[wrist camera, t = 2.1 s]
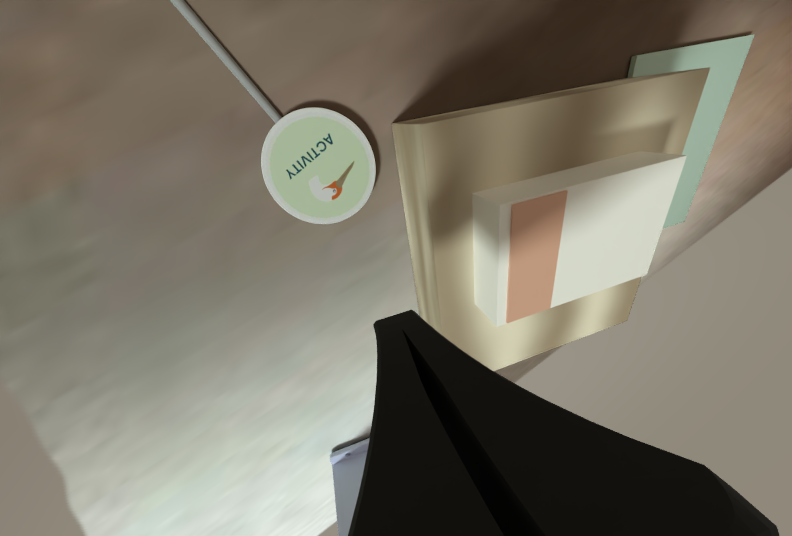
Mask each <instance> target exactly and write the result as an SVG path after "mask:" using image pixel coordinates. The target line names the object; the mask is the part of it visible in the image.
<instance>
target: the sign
mask: <svg viewBox="0 0 792 536" xmlns="http://www.w3.org/2000/svg"><path fill="white" fill-rule="evenodd" d="M170 1H171V2H172V3H173V4H174V5H175V7H176V8H177V9H178V10H179V11H180V12H181V14H182V15H183V16H184V17H185V18H186V19H187V21H188V22H189V23H190V24H191V25H192V26H193V28H194V29H195V30H196V31H197V32H198V33H199V35H200V36H201V37H202V38H203V39H204V40H205V42H206V43H207V44H208V45H209V46H210V47H211V49H212V50H213V51H214V52H215V53H216V54H217V56H218V57H219V58H220V59H221V60H222V61H223V63H224V64H225V65H226V66H227V67H228V68H229V70H230V71H231V72H232V73H233V74H234V75H235V77H236V78H237V79H238V80H239V81H240V82H241V84H242V85H243V86H244V87H245V88H246V89H247V91H248V92H249V93H250V94H251V95H252V96H253V98H254V99H255V100H256V101H257V102H258V103H259V105H260V106H261V107H262V108H263V109H264V110H265V111H266V113H267V114H268V115H269V116H270V117H271V118H272V120H273V121H274V122H275V123H276V124H275V125H274V126H273V127H272V128H271V130H270V131H269V133H268V135H267V137H266V139H265V142H264V145H263V149H262V155H261V167H262V173H263V177H264V181H265V184H266V186H267V188H268V190H269V192H270V193H271V195H272V197H273V198H274V199H275V201H276V202H277V203H278V204H279V205H280V206H281V207H282V208H283V209H284V210H286V211H287V212H288V213H290V214H291V215H293V216H295V217H296V218H299V219H301V220H303V221H307V222H310V223H316V224H330V223H336V222H339V221H342V220H345V219H347V218H349V217H350V216H352V215H354V214H355V213H356V212H357V211H359V210H360V209H361V208H362V206H363V205H364V204H365V203H366V201H367V200H368V198H369V196H370V194H371V192H372V189H373V186H374V182H375V176H376V166H375V158H374V154H373V151H372V148H371V146H370V144H369V142H368V140H367V138H366V137H365V135H364V134H363V132H362V131H361V130H360V129H359V128H358V126H357V125H355V124H354V123H353V122H352V121H351V120H350V119H348V118H347V117H345V116H343V115H342V114H340V113H337V112H335V111H332V110H329V109H325V108H316V107H312V108H303V109H299V110H296V111H293V112H291V113H289V114H287V115H285V116H284V117H283V118H282V117H281V116H280V115H279V113H278V112H277V111H276V110H275V109H274V107H273V106H272V105H271V104H270V103H269V101H268V100H267V99H266V98H265V97H264V95H263V94H262V93H261V92H260V91H259V89H258V88H257V87H256V86H255V85H254V83H253V82H252V81H251V80H250V79H249V77H248V76H247V75H246V74H245V73H244V72H243V70H242V69H241V68H240V67H239V66H238V64H237V63H236V62H235V61H234V60H233V58H232V57H231V56H230V55H229V54H228V52H227V51H226V50H225V49H224V48H223V46H222V45H221V44H220V43H219V42H218V40H217V39H216V38H215V37H214V36H213V34H212V33H211V32H210V31H209V30H208V28H207V27H206V26H205V25H204V24H203V22H202V21H201V20H200V19H199V18H198V17H197V15H196V14H195V13H194V12H193V11H192V9H191V8H190V7H189V6H188V5H187V3H186V2H185V1H184V0H170Z"/></svg>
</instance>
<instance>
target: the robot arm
mask: <svg viewBox="0 0 792 536" xmlns="http://www.w3.org/2000/svg"><path fill="white" fill-rule="evenodd" d="M374 329H375V333H376V339H377V383H376V394H375V405H374V413H373V420H372V427H371V433H370V438H368V439H366V440H363V441H361V442H358V443H356V444H353V445H350V446H348V447H345V448H343V449H340V450H338V451H335V452H333V453H332V454H331V455H330V462H331V464H332V468H333V479H334V490H335V502H336V513H337V524H338V534H339V536H779V533H778V529H777V527H776V525H775V524H773V523H772V522H771V521H770V520H769V519H768V518H767V517H765V516H764V515H763V514H762V513H761V512H760V511H759V510H757V509H756V508H755V507H754V506H753V505H752V504H750V503H749V502H748V501H747V500H746V499H745V498H744V497H742V496H741V495H740V494H739V493H738V492H737V491H736V490H734V489H733V488H732V487H731V486H730V485H728V484H727V483H726V482H725V481H723V480H722V479H721V478H719V477H718V476H717V475H716V474H715V473H713V472H712V471H711V470H710V469H708V468H707V467H706V466H705V465H702V464H699V463H697V462H694V461H692V460H689V459H686V458H683V457H681V456H678V455H675V454H672V453H670V452H667V451H664V450H662V449H659V448H656V447H654V446H651V445H648V444H645V443H643V442H640V441H637V440H635V439H632V438H629V437H627V436H624V435H622V434H619V433H617V432H615V431H613V430H610V429H608V428H605V427H603V426H601V425H598V424H596V423H594V422H591V421H589V420H587V419H584V418H583V417H581V416H578V415H576V414H574V413H572V412H570V411H568V410H566V409H563V408H561V407H559V406H557V405H555V404H553V403H551V402H548V401H546V400H544V399H542V398H540V397H538V396H536V395H535V394H533V393H531V392H529V391H527V390H525V389H524V388H521V387H520V386H518V385H516V384H515V383H513V382H511V381H509V380H508V379H506V378H504V377H502V376H501V375H499V374H497V373H496V372H494V371H492V370H491V369H489V368H488V367H486V366H485V365H483V364H482V363H480V362H479V361H477V360H476V359H474V358H473V357H471V356H470V355H468V354H467V353H465V352H464V351H462V350H461V349H460V348H458V347H457V346H456V345H454V344H453V343H452V342H450V341H449V340H448V339H446V338H445V337H444V336H443V335H441V334H440V333H439V332H438V331H436V330H435V329H434V328H433V327H431V326H430V325H429V324H428V323H427V322H426V321H425V320H423V319H422V318H421V317H420V316H419V315H418V314H417V313H416V312H415V311H413V310H409V311H406V312H403V313H400V314H397V315H393V316H390V317H387V318H384V319H381V320H378V321H376V322H375V323H374Z"/></svg>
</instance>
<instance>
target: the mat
mask: <svg viewBox="0 0 792 536" xmlns="http://www.w3.org/2000/svg"><path fill="white" fill-rule="evenodd" d="M754 35H755V34H754ZM754 35H748V36H743V37H737V38H732V39H726V40H720V41H715V42H709V43H703V44H698V45H692V46H687V47H681V48H675V49H670V50H664V51H659V52H653V53H647V54H642V55H636V56H632V58H631V63H630V67H629V72H628V77H627V78H631V77H639V76H646V75H654V74H662V73H669V72H677V71H685V70H692V69H700V68H708V67H711V68H710V71H709V74H708V77H707V80H706V83H705V86H704V89H703V92H702V95H701V98H700V101H699V104H698V107H697V110H696V113H695V116H694V119H693V122H692V125H691V128H690V131H689V134H688V137H687V140H686V143H685V147H684V150H683V153H682V155H687V157H686V160H685V163H684V166H683V169H682V172H681V175H680V178H679V181H678V184H677V187H676V190H675V193H674V196H673V199H672V202H671V205H670V208H669V211H668V214H667V216H666V219H665V222H664V225H663V228H666V227H669V226H672V225H676V224H679V223H682V222H684V221H685V219H686V216H687V213H688V211H689V208H690V205H691V203H692V200H693V197H694V195H695V192H696V189H697V187H698V184H699V181H700V179H701V176H702V173H703V171H704V168H705V165H706V163H707V160H708V157H709V155H710V152H711V149H712V147H713V144H714V141H715V139H716V136H717V133H718V131H719V128H720V125H721V123H722V120H723V117H724V115H725V112H726V109H727V107H728V104H729V101H730V99H731V96H732V93H733V91H734V88H735V85H736V83H737V80H738V77H739V75H740V72H741V69H742V67H743V64H744V61H745V59H746V56H747V53H748V51H749V48H750V45H751V43H752V40H753V37H754ZM663 228H662V229H663Z"/></svg>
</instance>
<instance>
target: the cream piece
mask: <svg viewBox="0 0 792 536" xmlns="http://www.w3.org/2000/svg"><path fill="white" fill-rule="evenodd" d="M710 68H711V67H708V68H700V69H692V70H685V71H677V72H669V73H662V74H654V75H646V76H639V77H631V78H624V79H619V80H613V81H608V82H603V83H598V84H593V85H588V86H582V87H577V88H572V89H567V90H562V91H557V92H552V93H546V94H541V95H536V96H531V97H526V98H521V99H515V100H510V101H505V102H500V103H495V104H490V105H485V106H479V107H474V108H469V109H464V110H459V111H454V112H448V113H443V114H438V115H433V116H428V117H423V118H418V119H412V120H407V121H402V122H397V123H392V130H393V137H394V144H395V151H396V158H397V164H398V171H399V178H400V185H401V192H402V198H403V205H404V212H405V219H406V226H407V232H408V239H409V246H410V253H411V260H412V266H413V273H414V280H415V287H416V294H417V300H418V307H419V314H420V317H421V318H422V319H423V320H425V321H426V322H427V323H428V324H429V325H430V326H431V327H433V328H434V329H435V330H436V331H438V332H439V333H440V334H441V335H443V336H444V337H445V338H446V339H448V340H449V341H450V342H452V343H453V344H454V345H456V346H457V347H458V348H460V349H461V350H462V351H464V352H465V353H467V354H468V355H470V356H471V357H473V358H474V359H476V360H477V361H479V362H480V363H482V364H483V365H485V366H486V367H488V368H489V369H491V370H492V371H496V370H498V369H501V368H504V367H506V366H509V365H512V364H514V363H517V362H520V361H522V360H525V359H527V358H530V357H533V356H535V355H538V354H541V353H543V352H546V351H549V350H551V349H554V348H557V347H559V346H562V345H564V344H567V343H569V342H572V341H575V340H578V339H580V338H583V337H585V336H588V335H591V334H593V333H596V332H599V331H601V330H604V329H607V328H609V327H612V326H615V325H617V324H620V323H623V322H625V321H627V319H628V316H629V314H630V310H631V307H632V304H633V301H634V298H635V295H636V292H637V289H638V286H639V283H640V280H641V277H642V276H641V277H638V278H635V279H633V280H630V281H627V282H624V283H621V284H618V285H615V286H613V287H610V288H607V289H604V290H601V291H598V292H595V293H592V294H590V295H587V296H584V297H581V298H578V299H575V300H572V301H570V302H567V303H564V304H561V305H558V306H555V307H552V308H550V309H547V310H544V311H541V312H538V313H536V314H533V315H530V316H527V317H524V318H521V319H518V320H516V321H513V322H510V323H506V324H504V325H501V326H498V327H496V326H495V325H494V324H493V323H492V322H491V321H490V320H489V318H488V317H487V316H486V315H485V314H484V313H483V312H482V311H481V310H480V309H479V308H478V307H477V306H476V305H475V299H474V252H473V206H472V193H475V192H479V191H483V190H487V189H491V188H495V187H499V186H503V185H507V184H511V183H515V182H519V181H523V180H527V179H531V178H535V177H539V176H543V175H546V174H550V173H554V172H558V171H562V170H566V169H570V168H574V167H578V166H582V165H586V164H590V163H594V162H598V161H602V160H606V159H610V158H614V157H618V156H622V155H626V154H630V153H634V152H638V151H644V152H655V153H666V154H677V155H682V153H683V150H684V147H685V143H686V140H687V137H688V134H689V131H690V128H691V125H692V122H693V119H694V116H695V113H696V110H697V107H698V104H699V101H700V98H701V95H702V92H703V89H704V86H705V83H706V80H707V77H708V74H709V71H710Z"/></svg>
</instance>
